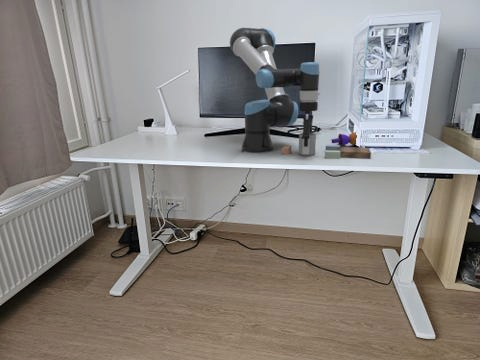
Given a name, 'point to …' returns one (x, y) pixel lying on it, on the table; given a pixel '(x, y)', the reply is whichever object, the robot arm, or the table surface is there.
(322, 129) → the table surface
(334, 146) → the brick blue
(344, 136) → the toy
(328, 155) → the brick sage
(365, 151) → the slab
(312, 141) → the cup
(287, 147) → the brick terracotta
